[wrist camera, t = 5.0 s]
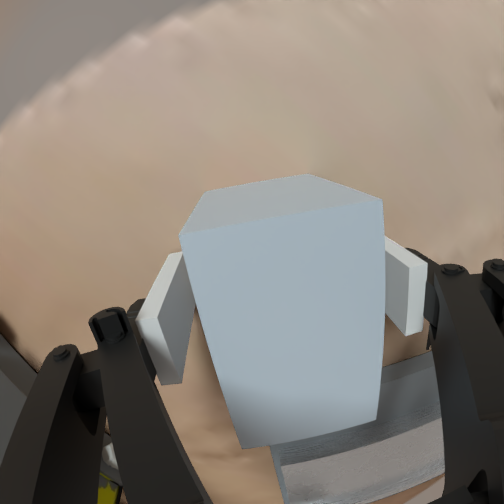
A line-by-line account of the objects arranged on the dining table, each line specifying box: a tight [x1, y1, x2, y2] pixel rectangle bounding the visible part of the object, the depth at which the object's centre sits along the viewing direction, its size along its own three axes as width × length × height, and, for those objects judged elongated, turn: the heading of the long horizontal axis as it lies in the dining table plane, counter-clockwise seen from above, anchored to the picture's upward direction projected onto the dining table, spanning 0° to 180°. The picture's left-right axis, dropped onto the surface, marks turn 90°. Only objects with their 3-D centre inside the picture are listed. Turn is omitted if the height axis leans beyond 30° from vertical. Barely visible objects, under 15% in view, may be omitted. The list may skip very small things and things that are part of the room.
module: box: [179, 174, 385, 449], centre depth 12 cm, size 5×8×8 cm, turn 10°
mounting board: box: [269, 351, 445, 504], centre depth 21 cm, size 20×20×2 cm
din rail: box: [278, 401, 445, 504], centre depth 20 cm, size 19×12×2 cm, turn 100°
